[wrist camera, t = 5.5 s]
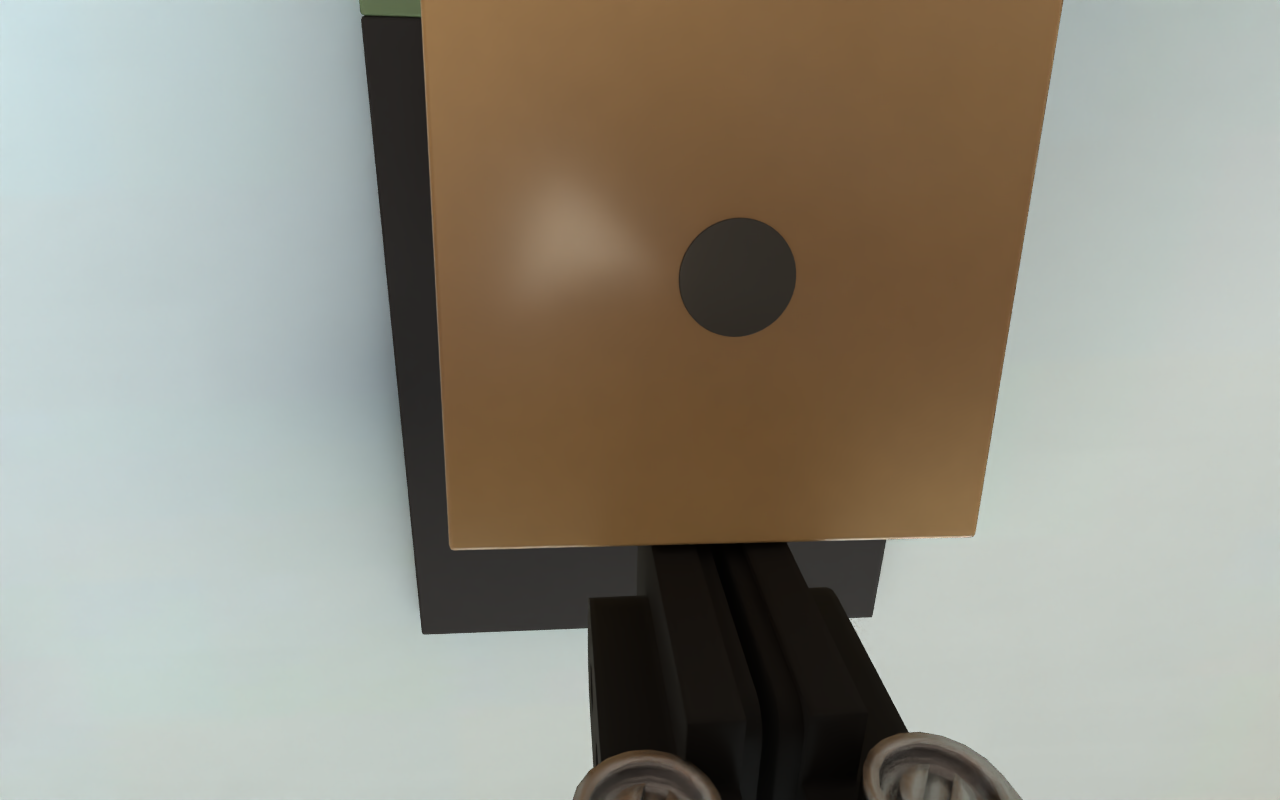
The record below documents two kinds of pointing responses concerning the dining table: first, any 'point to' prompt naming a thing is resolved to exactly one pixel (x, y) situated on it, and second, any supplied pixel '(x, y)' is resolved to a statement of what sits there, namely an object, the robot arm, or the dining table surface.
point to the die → (726, 262)
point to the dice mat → (446, 579)
